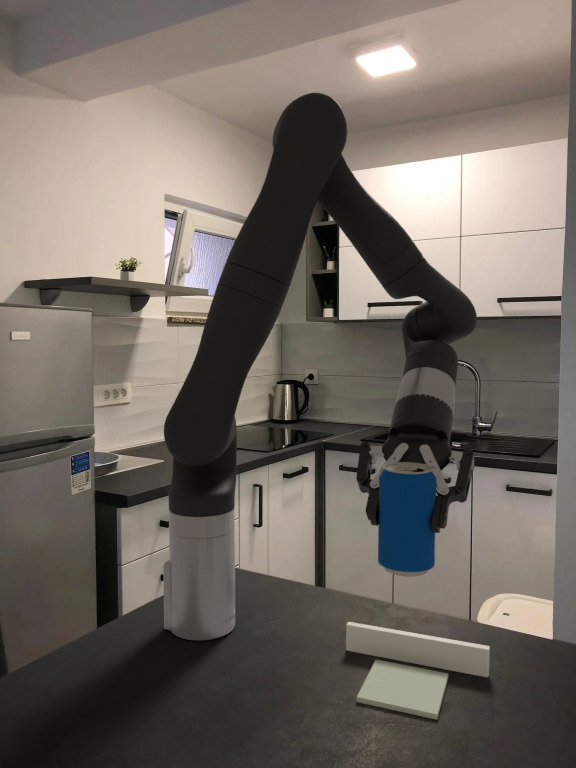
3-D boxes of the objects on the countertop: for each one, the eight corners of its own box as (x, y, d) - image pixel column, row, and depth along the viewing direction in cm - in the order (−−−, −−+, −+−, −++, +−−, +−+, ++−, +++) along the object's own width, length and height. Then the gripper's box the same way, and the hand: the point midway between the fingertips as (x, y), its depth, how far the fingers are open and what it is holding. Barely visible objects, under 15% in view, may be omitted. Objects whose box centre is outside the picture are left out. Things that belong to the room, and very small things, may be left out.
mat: (356, 702, 72) (356, 696, 72) (375, 664, 80) (375, 659, 80) (437, 719, 68) (437, 714, 68) (448, 678, 77) (448, 673, 77)
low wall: (346, 650, 84) (346, 624, 83) (348, 646, 85) (348, 621, 84) (488, 677, 77) (488, 649, 77) (488, 673, 78) (489, 646, 78)
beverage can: (435, 581, 70) (437, 474, 69) (376, 576, 71) (377, 471, 70) (433, 561, 76) (435, 462, 75) (379, 557, 77) (380, 460, 76)
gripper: (364, 390, 82) (336, 502, 71) (480, 394, 76) (468, 516, 66) (373, 425, 87) (349, 534, 77) (482, 431, 82) (471, 549, 72)
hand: (404, 525), depth 72 cm, fingers closed on beverage can, 6 cm apart
